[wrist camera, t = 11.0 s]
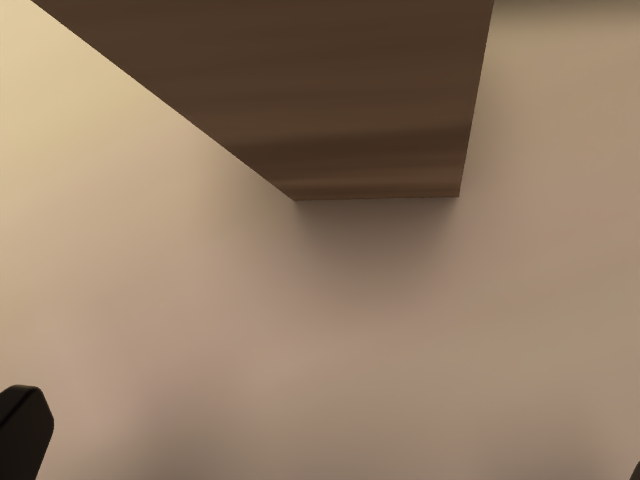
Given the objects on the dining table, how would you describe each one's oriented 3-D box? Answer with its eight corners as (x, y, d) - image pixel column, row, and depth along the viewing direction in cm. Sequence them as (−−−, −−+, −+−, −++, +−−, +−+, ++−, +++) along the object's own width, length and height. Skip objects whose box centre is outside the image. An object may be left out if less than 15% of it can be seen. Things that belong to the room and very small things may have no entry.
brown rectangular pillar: (458, 196, 18) (525, -169, 4) (292, 200, 19) (-87, -89, 5) (456, 33, 18) (507, -748, 5) (295, 45, 19) (-41, -580, 6)
